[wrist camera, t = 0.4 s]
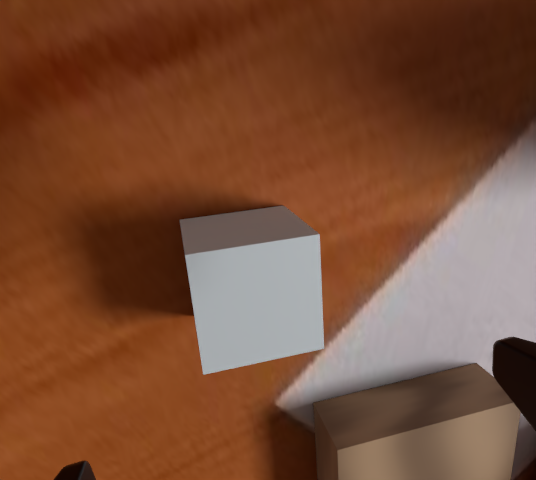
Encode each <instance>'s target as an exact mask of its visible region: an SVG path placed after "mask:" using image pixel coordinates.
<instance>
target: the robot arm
mask: <svg viewBox="0 0 536 480" xmlns="http://www.w3.org/2000/svg"><path fill="white" fill-rule="evenodd" d="M492 371H493V375H494V378H495V379H496V381H497V383H498V384H499V385H500V386H501V388H502V389H503V390H504V391H505V393H506V394H507V395H508V397H509V398H510V399H511V400H512V402H513V403H514V404H515V405H516V407H517V408H518V409H519V410H520V412H521V413H522V414H523V416H524V417H525V418H526V419H527V421H528V422H529V423H530V424H531V426H532V427H533V428H534V429H535V431H536V343H534V342H531V341H527V340H523V339H520V338H516V337H508V338H504V339H501V340H498V341H496V342H495V344H494V346H493V366H492ZM54 480H96V478H95V476H94V473H93V471H92V468H91V466H90V464H89V463H88V462H87V461H80V462H77V463H73V464H70V465H67V466H65V467H64V468H63V469H62V470H61V471H60V472H59V473H58V475H57V476H56V477H55V478H54Z"/></svg>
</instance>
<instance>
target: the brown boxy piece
mask: <svg viewBox="0 0 536 480" xmlns="http://www.w3.org/2000/svg"><path fill="white" fill-rule="evenodd" d="M313 407H314V425H315V443H316V461H317V480H511V474H512V467H513V460H514V453H515V446H516V439H517V433H518V426H519V419H520V410H519V409H518V408H517V407H516V405H515V404H514V403H513V402H512V400H511V399H510V398H509V397H508V395H507V394H506V393H505V391H504V390H503V389H502V388H501V386H500V385H499V384H498V383H497V381H496V379H495V378H494V377H493V376H492V375H490V374H489V373H488V372H487V371H485V370H484V369H483V368H482V367H481V366H479V365H478V364H477V363H474V364H470V365H466V366H462V367H458V368H454V369H449V370H445V371H441V372H437V373H433V374H429V375H425V376H421V377H417V378H413V379H409V380H404V381H400V382H396V383H392V384H388V385H384V386H380V387H376V388H372V389H368V390H363V391H359V392H355V393H351V394H347V395H343V396H339V397H335V398H331V399H327V400H323V401H318V402H314V403H313Z"/></svg>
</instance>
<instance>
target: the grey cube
mask: <svg viewBox="0 0 536 480" xmlns="http://www.w3.org/2000/svg"><path fill="white" fill-rule="evenodd" d="M180 227H181V233H182V240H183V246H184V253H185V259H186V266H187V272H188V279H189V285H190V292H191V298H192V305H193V311H194V318H195V324H196V331H197V337H198V343H199V350H200V356H201V362H202V369H203V375H204V374H209V373H213V372H218V371H223V370H227V369H232V368H236V367H241V366H246V365H250V364H255V363H260V362H264V361H269V360H274V359H278V358H283V357H287V356H292V355H297V354H301V353H306V352H311V351H315V350H320V349H324V333H323V308H322V283H321V257H320V234H319V233H318V232H316V231H315V230H314V229H312V228H311V227H310V226H309V225H307V224H306V223H305V222H304V221H302V220H301V219H300V218H299V217H297V216H296V215H295V214H294V213H292V212H291V211H290V210H289V209H287V208H286V207H285V206H276V207H269V208H262V209H254V210H247V211H240V212H233V213H225V214H218V215H211V216H203V217H196V218H189V219H182V220H180Z"/></svg>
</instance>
